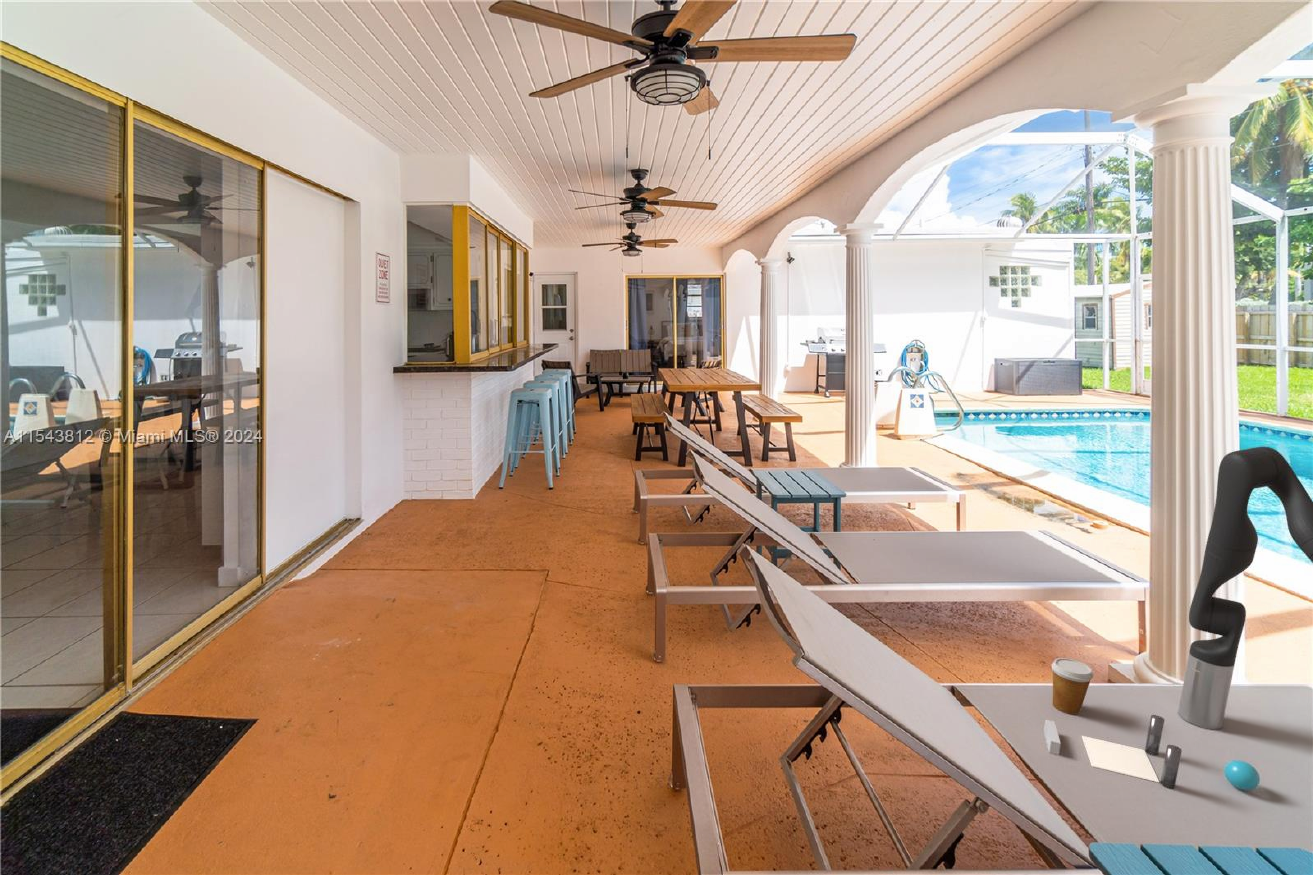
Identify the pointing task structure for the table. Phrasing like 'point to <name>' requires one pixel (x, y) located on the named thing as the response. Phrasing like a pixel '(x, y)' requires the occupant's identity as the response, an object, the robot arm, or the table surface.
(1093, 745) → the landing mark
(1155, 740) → the post
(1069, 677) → the disposable coffee cup
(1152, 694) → the table surface
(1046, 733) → the wall
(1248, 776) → the ball
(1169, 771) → the post
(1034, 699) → the table surface
